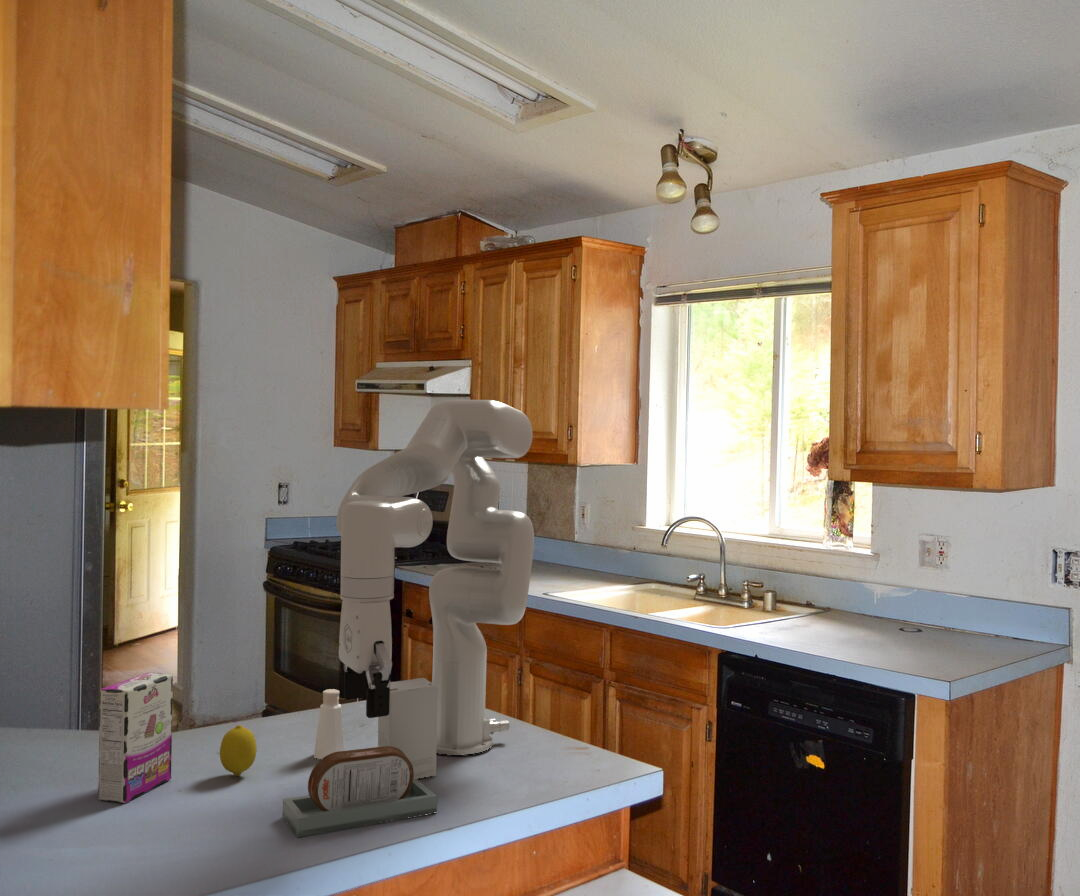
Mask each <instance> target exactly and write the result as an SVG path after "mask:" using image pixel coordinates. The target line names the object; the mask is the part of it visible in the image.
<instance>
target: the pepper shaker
mask: <svg viewBox="0 0 1080 896" xmlns="http://www.w3.org/2000/svg"><path fill="white" fill-rule="evenodd" d="M339 700H340V690H338V689H335V688H332V689H331V688H329V689H328V688H327V689H325V690H323V691H322V703H321V704H320V706H319V712H318V713H319V714H318V723H317V729H316V736H315V737H316V738H315V745H314V746H315V747H314V750H313V752H314V753H313V758H314V759H316V758H317V759H316V760H320V759H322V758H324V757H325V756H327V755H329V754H331V753H334V752H339V751H345V743H344V730H343V726H344V725H343V715H342V713H343V712H342V704H340V703H339Z"/></svg>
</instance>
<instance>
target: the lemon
mask: <svg viewBox="0 0 1080 896" xmlns="http://www.w3.org/2000/svg"><path fill="white" fill-rule="evenodd" d="M257 749H258V748H257V741H256V738H255V736H254V733H253V732H252V731H251V730H250V729H249V728H246V727H245V726H242V725H241V724H237V725H236V726H235V727H233V728H231V729H230V730H228V731H227V732H226V733H225V734H224V736H223V737H222V739H221V742H220V748H219V759H220V763H221V765H222V767H223V768H224V769H225V770H226V771H227V772H229V773H232V774H233V775H234V776H235V777H239V776H241V775H242V774H243V773H244V772H245V771H248V770H249V769H250V768H251V767H252V766H253V764H254V762H255V760H256V756H257Z"/></svg>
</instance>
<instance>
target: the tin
mask: <svg viewBox="0 0 1080 896" xmlns="http://www.w3.org/2000/svg"><path fill="white" fill-rule="evenodd" d="M413 778H414V771H413V766H412V764H411V762H410V760H409V759H408V758H407V757H406V755H405V754H404V753H403V752H402V751H401V750H400V749H398V748H396V747H393V746H382V747H378V746H376V747H375V746H374V747H366V748H359V749H350V750H344V751H339V752H334V753H331V754H329V755H327V756H325V757H324V758H322V759H321V760H320V759H319V761H318V762H317V763H316V764H315V766H314V767H313V768H312V770H311V772H310V775H309V777H308V780H307V781H308V782H307V789H308V795H310V798H311V799H312V801H313V802H314V803H315V804H316V805H317V806H318V807H319V808H320V809H321V810H322V811H323V812H324V811H331V810H337V809H343V808H349V807H355V806H362V805H368V804H374V803H380V802H386V801H392V800H399V799H404V798H405V797H406V795H407V794H408V792H409V791H410V789H411V786H412V783H413Z"/></svg>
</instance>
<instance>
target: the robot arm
mask: <svg viewBox="0 0 1080 896" xmlns="http://www.w3.org/2000/svg"><path fill="white" fill-rule="evenodd" d="M532 427H533V426H532V424H531V421H530V419H529V417H528V416H527V415H526V414H525V413H524V412H523V411H521V410H519V409H517V408H514V407H512V406H510V405H508V404H506V403H503V402H500V401H498V400H493V399H445V400H442V401H439V402H437V403H436V404H434V405H433V406H432V407H431V408H430V409H429V411H428V413H426V416H425V417H424V419H423V420H422V422H421V424H420V425H419V427H418V429H416V431H415V433H414V435H413V436H412V438H411V439H410V441H409V443H408V444H407V446H406V447H405V448H403V449H402V450H399V451H397V452H395V453H393V454H391V455H389V456H388V457H385V458H384V459H382V460H380V461H379V462H377V463H375V464H373V465H372V466H369V467H368V468H366V469H365V470H364V471H363V472H362V473H361V474H359V475H358V476H357V478H356V479H354V481H353V483H352V484H351V486H350V487H349V489H348V490H347V492H346V493H345V495H344V497H343V498H342V500H341V502H340V504H339V507H338V509H337V515H336V528H337V532H338V534H339V536H340V596H339V597H340V600H341V601H342V602H341V611H340V618H339V619H340V622H339V637H338V638H339V640H338V658H339V661H340V662H341V663H343V670H344V674H343V676H344V677H343V678H344V679H343V687H344V688H343V691H344V692H343V697H344V700H358V699H364V698H365V700H366V701H365V703H366V704H365V709H366V710H365V716H366V717H367V718H368V719H373V718H378V717H382V716H387V715H389V707H390V686H391V683H390V682H391V678H392V667H393V661H392V657H393V656H392V654H393V653H392V652H393V650H392V649H393V647H392V646H393V645H392V644H393V637H392V635H393V634H392V616H391V615H392V613H391V604H390V603H391V602H390V601H391V600H393V599H394V598H395V593H394V592H395V548H414V547H417V546H419V545H421V544H423V542H425V541H426V540H427V539H428V538H429V536H430V534H431V532H432V529H433V523H434V522H433V521H434V520H433V518H434V517H433V514H432V511H431V509H430V507H429V505H428V504H427V503H425V502H424V501H423V500H421V499H419V498H415V497H411V496H409V495H412V494H416V493H420V492H423V491H426V490H430V489H432V488H436V487H438V486H441V485H442V484H444V483H445V482H446V481H448V480H449V479H450V477H451V475H452V476H453V484H454V485H453V492H452V493H453V494H452V502H451V507H450V514H449V519H448V525H447V527H448V528H447V533H446V548H447V551H448V553H449V554H450V556H451V557H453V558H454V559H457V560H461V561H467V562H476V563H493V564H495V563H497V564H501V569H495V568H494V569H493V568H482V567H470V566H469V567H467V566H466V567H465V566H451V567H450V566H449V567H446V568H443V569H441V570H439V571H437V572H436V573H435V574H433V577H432V578H431V581H430V583H429V588H428V593H429V594H428V598H429V606H430V612H431V619H432V632H433V633H432V637H433V638H432V639H433V640H432V642H433V643H432V645H433V646H432V650H433V651H432V673H431V674H432V679H431V683H433V684H435V685H436V686H438V689H437V747H436V753H439V754H438V755H441V754H447V755H446V756H451V755H461V754H473V753H479V752H482V751H485V750H487V751H489V750H490V749H491V748H493V746H492V745H494V739H493V737H492V735H494V733H496V732H497V733H500V732H508V731H509V730H510V726H511V725H510V722H509V720H508V719H503V720H498V721H497V719H496V718H490V719H488V718H486V692H487V691H486V689H487V688H486V686H487V659H488V658H487V655H488V653H487V651H488V650H487V644H486V640H485V637H484V635H483V633H482V631H481V630H480V628H479V627H478V625H477V624H478V623H479V624H492V625H499V626H500V625H502V626H510V625H516V624H518V623H519V622H520V621H521V620H522V619H523V616H524V615H525V612H526V608H527V603H528V596H529V592H530V591H529V589H530V583H531V582H530V581H531V574H532V566H533V560H534V559H533V558H534V550H535V531H534V525H533V522H532V520H531V519H530V517H529V516H528V515H527V514H526V513H524V512H522V511H517V510H510V509H509V510H508V509H507V510H504V509H499V502H500V501H499V500H500V494H501V485H500V484H501V483H500V481H499V479H498V477H497V475H496V473H495V472H494V469H492V468H491V466H490V465H489V463H488V462H487V460H485V458H486V459H488V458H492V459H493V458H494V459H519V458H522V457H524V456H525V455H527V453H528V452H529V450H530V448H531V446H532V442H533V436H534V435H533V434H534V433H533V428H532ZM374 674H376V675H375V676H374ZM367 684H368V688H367ZM489 748H490V749H489ZM488 749H489V750H488ZM485 752H486V751H485ZM482 753H483V752H482ZM479 754H480V753H479ZM473 755H474V754H473Z"/></svg>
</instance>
